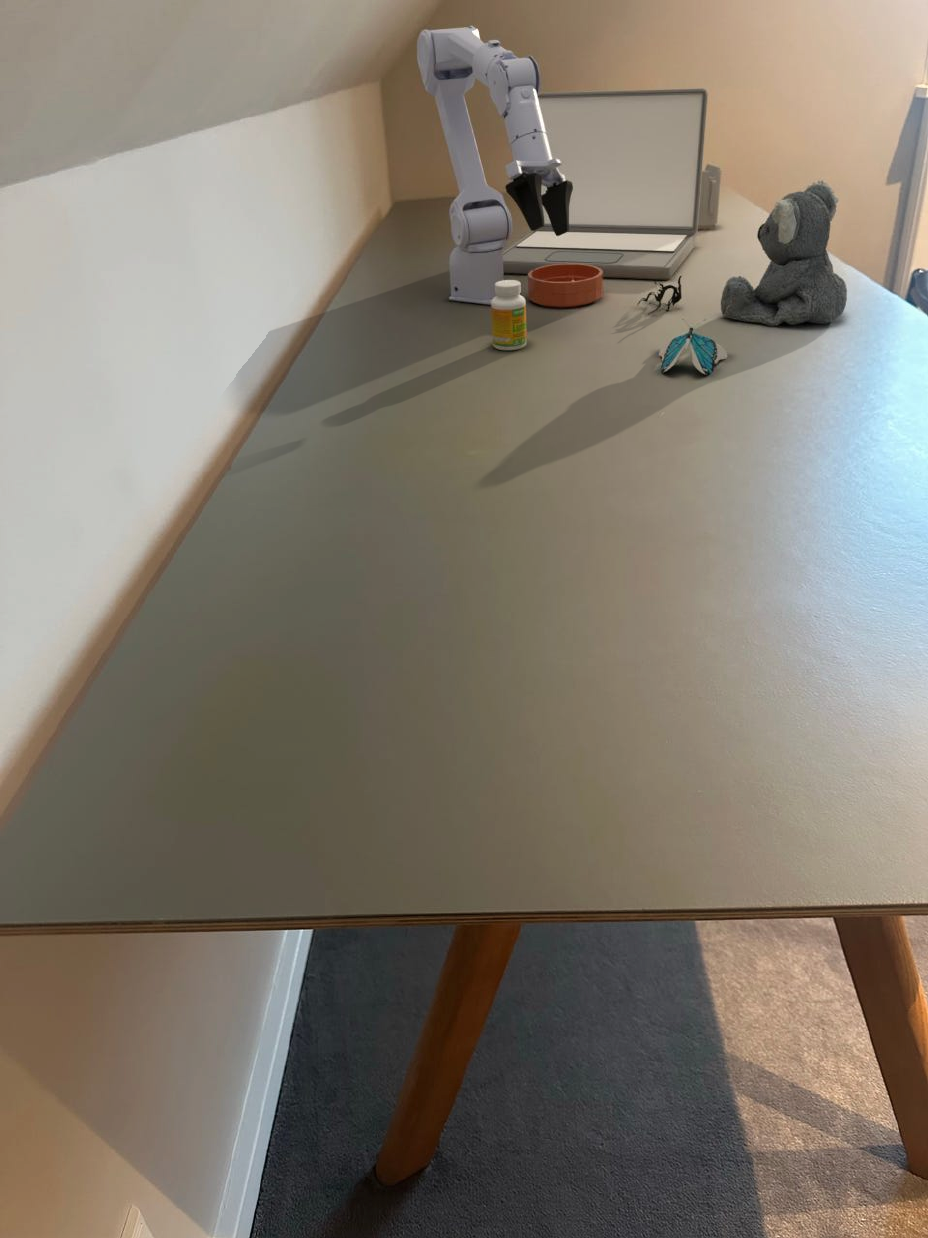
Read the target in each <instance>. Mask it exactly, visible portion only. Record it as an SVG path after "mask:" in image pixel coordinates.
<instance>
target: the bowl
mask: <svg viewBox="0 0 928 1238" xmlns="http://www.w3.org/2000/svg"><path fill="white" fill-rule="evenodd" d="M603 286H604V277H603V271H602V270H601V268H598V267H596V266H592V265H587V264H576V263H566V264H553V265H547V266H542V267H539V268H535V269H533V270H531V271H530V272H529V273H528V274H527V298H528V299H529V301H531V302H533V303H535V304H538V305H540V306H544V307H548V308H573V307H574V308H576V307H582V306H585V305H590V304H592V303H594V302H596V301H598V300H599V299H601V298H602V296H603V293H604V292H603V288H604V287H603Z"/></svg>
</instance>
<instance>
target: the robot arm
mask: <svg viewBox="0 0 928 1238" xmlns="http://www.w3.org/2000/svg"><path fill="white" fill-rule="evenodd" d="M416 59H417V61H416V62H417V64H418V68H419V72H420V77H421V79H422V83H423V86H424V89H425V92H427V93H428V94H430V95H432V96H433V97H434V100H435V104H436V106H437V111H438V115H439V119H440V123H441V126H442V130H443V134H444V138H445V141H446V142H445V143H446V146H447V150H448V153H449V157H450V161H451V164H452V168H453V172H454V176H455V181H456V183H457V188H458V191H459V194H458V195H457V196H456V197H455V199H454V200H453V201H452V202H451V204H450V207H449V211H448V214H449V215H448V216H449V220H450V231H451V232H450V233H451V237H452V240H453V242H454V244H455V245H456V246H455V247H454V248H453V249H452V250H451V253H450V256H449V263H448V268H449V282H450V296H449V297H448V300H449V301H453V302H454V301H455V302H463V303H472V304H479V305H488V306H491V302H492V299H493V298H494V297H496V296H497V294H495V283H496V282H498V281H503V280H505V277H504V276H505V273H504V272H503V251H504V249H503V248H504V247H507V242H508V241H509V240H510V238H511V236H512V235H513V227H514V225H513V218H512V214H511V211H510V209H509V207H507V205H506V202H505V198H504V195H503V193H501V192H499V191H498V190H496V189H495V188H493V187H491V186H490V185H488V183H487V180H486V176H485V172H484V167H483V165H482V160H481V157H480V153H479V149H478V146H477V141H476V137H475V133H474V130H473V126H472V122H471V118H470V114H469V110H468V107H467V103H466V99H465V94H466V93H467V92H468V91H470V90H471V89H472V88H473V87H474V86H475V81H476V80H477V81H479V82H480V83H481V84H483V85H484V86H486V87H487V88H488V89H489V96H490V99H491V101H492V102H493V104H494V105H495V106H496V109H497V113H498V115H499V117H501V118H503V122H504V126H505V131H506V135H507V138H508V143H509V146H510V150H511V155H512V159H513V161H511V162H510V163H507V164H506V165H505V166H504V167H505V171H506V176H507V179H508V180H511V182H509V183H507V184H505V186H504V189H505V191H506V193H507V194H508V195H509V196H510V197H511V199H512V200H513V201H514V202H515V204H516V205H517V207H518V208H519V210H520V212H521V214H522V216H523V218H524V220H525V222H526V224H527V227H528V228H529V229H530V231H531V232H534V231H535V230H537V229H539V228H541V227H543V226H544V213H543V207H544V208H545V210H546V212H547V214H548V217H549V219H550V222H551V225H552V228H553V231H554V233H555V234H556V236H560V235H562V234H564V233H566V232H569V204H570V198H571V193H572V190H573V185H572V182H571V181H567V180H565V176H564V175H562V174H561V173H560V171H559V170H558V168H557V167H558V166H560V165H561V162H560V160H559V159H556V158H554V159H553V158H552V154H551V150H550V146H549V142H548V138H547V134H546V129H545V125H544V121H543V117H542V113H541V109H540V104H539V100H538V96H537V95H538V93H540V88H541V73H540V68H539V64H538V62H537V61H536V59H534V56H532V55H526V56H524V57H518V56H517V55H515V54H514V51H512V50H509V49H505V48H504V47H502V46H501V42H500V40H498V39H491V40H488V41H487V42H484V41H483V40H481V37H480V32H479V29H478V28H477V27H475V26H473V25H468V26H466V27H465V26H464V27H453V28H442V29H430V30H429V29H422V30H421V32H420V33H419V35H418V38H417V41H416ZM541 185H542V186H546V187H547V190H546V193H545V194H543V195H541ZM542 205H543V207H542Z"/></svg>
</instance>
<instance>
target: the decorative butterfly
mask: <svg viewBox="0 0 928 1238" xmlns="http://www.w3.org/2000/svg"><path fill="white" fill-rule="evenodd" d="M682 320H684V322H686V320H685V319H684V318H682ZM706 320H707V319H704V321H706ZM698 325H699V323H697V324H696V326H698ZM687 326H688V327H689V328H688V329H689V331H688V332H686V333H684V334H681V335H679V336H677V337H675V338H673V339H671V340H670V341H668V342H667V343H666V344H664V345H663V346H662V348H661V349H660V350H659V351H658V356H659V357H661V361H662V363H661V366H660V372H661V373H665V372H667V371H668V370H670V369H671V368H672V367H674V365H675V364H676V362H677V361H678V359H679V357H680V355H681V353H682V352H683V350H684V349H685V350H687V349H688V347H689V348H690V351H691V361H692V364H693V366H694V367H695V369H697V370H698V372H700V373H701V374H704V375H706V376H709V375H711V374H712V373H713V372H714V367H715V366H714V365H715V364H716V365H717V364H718V362H719V361H720V360H726V359H728V353H727V351H726V349H725V348H724V347H723V346H722V345H720V344H719V343H717V342H716V341H714V340H713V339H711V338H709V337H706V336H702V335H700V334H698V333H695V332H693V331H694V327H691V326H690V325H689V324H687Z"/></svg>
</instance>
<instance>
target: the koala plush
mask: <svg viewBox="0 0 928 1238" xmlns="http://www.w3.org/2000/svg"><path fill="white" fill-rule="evenodd" d="M838 203H839V197H837V195H836V194H835V190H833V189H832V187H831V186H830V185H829V184H828V183H827V182H825V181H824V180H821V181H820V179H819V180H817V183H816V182H812V184H810V185H807V187H806V188H805V190H803V191H802V190H799V191H794V192H791V193H788V194H786V195H785V196H783V197H782V198H781V199H779V200H777V201H776V202H775V204H774V206H773V207H772V211H771V212H770V213H769V215H768V217H767V218H766V220H765V222H764V223H762V224H761V225H760V226H759V228H758V230H757V235H756V236H757V240H758V242H759V243H760V246H761V248H762V251H763V252H764V254H765V255H766V257H767V258H768V259H769V260H770V262H769V264H768V266H767V268H766V269H765V272H764V274H762V277H761V279H760V281H759V282H758V285H757V286H756V287H755V288H754V286H753V285H752V284H751V283H750V281H749V280H748V279H747V278H746V277H744V276H741V275H739V276H732V277H729V278H728V280H727V281H726V283H725V285H724V287H723V290H722V293H721V299H720V311H721V314H722V315H723V316H725V318H727V319H731V320H736V321H739V322H745V323H756V324H763V325H767V326H769V327H775V326H777V327H778V326H779V325H781V324H783V323H786V324H788V325H790V326H795V325H800V324H803V323H805V322H806V323H810V324H817V325H818V324H819V325H820V324H822V325H824V324H827V323H828V324H829V323H830V322H832V321H834V320H836V319H837V318H838V317H840V316H841V315H842V314H843V313H844V311H845V309H846V305H847V300H848V288H847V284H846V281H844V279H843V278H842V277H840V275H839V274H837V273H835V272H834V265H833V264H832V261H831V260H830V256H829V253H828V251H827V247H828V244H829V240H830V235H831V234H830V232H831V222H833V219H834V217H835V216H836V212H837V204H838Z"/></svg>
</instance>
